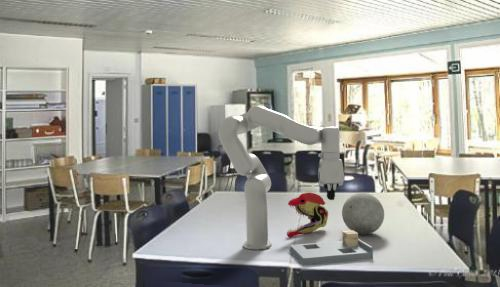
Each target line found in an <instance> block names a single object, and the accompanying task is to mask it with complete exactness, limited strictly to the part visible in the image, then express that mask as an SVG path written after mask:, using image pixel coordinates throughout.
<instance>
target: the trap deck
mask: <svg viewBox="0 0 500 287" xmlns="http://www.w3.org/2000/svg"><path fill="white" fill-rule="evenodd" d="M289 251H290V252H291V254H292V255H294V256H295V258H297V259H298V261H299V262H301V264H302V265H314V264H325V262H328V263H336V262H337V263H338V262H348V261H357V260H358V261H360V260H369V259H373V258H374V254H373V253H374V247H373V246H372V245H370V244H368V243H366V242H364V241H363V240H361V239H360V238H358V245H350V246H347V245H345V244H344V243H343V242H342V240H336V241H324V242H322V241H321V242H313V243H309V242H308V243H299V244H298V243H297V244H290V245H289Z"/></svg>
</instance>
